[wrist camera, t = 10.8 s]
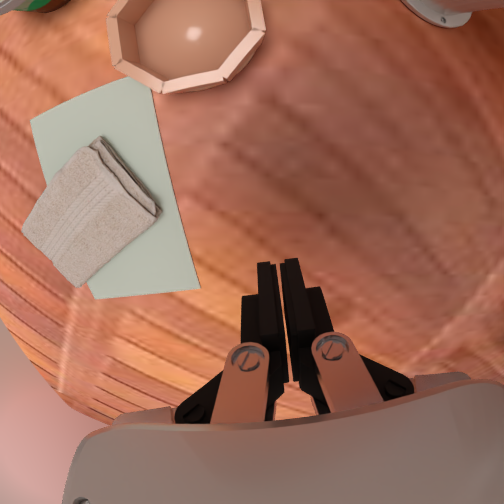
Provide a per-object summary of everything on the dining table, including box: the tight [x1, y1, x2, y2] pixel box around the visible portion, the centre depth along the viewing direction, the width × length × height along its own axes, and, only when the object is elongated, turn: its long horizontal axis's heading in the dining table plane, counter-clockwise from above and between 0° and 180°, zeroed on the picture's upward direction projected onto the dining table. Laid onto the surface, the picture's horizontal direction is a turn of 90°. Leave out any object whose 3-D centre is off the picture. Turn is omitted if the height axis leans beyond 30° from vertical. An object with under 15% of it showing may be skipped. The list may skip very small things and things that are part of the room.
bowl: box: [106, 0, 266, 94], centre depth 19 cm, size 13×13×6 cm
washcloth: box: [22, 136, 163, 288], centre depth 29 cm, size 12×18×3 cm, turn 126°
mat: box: [30, 76, 201, 299], centre depth 30 cm, size 26×16×1 cm, turn 8°
